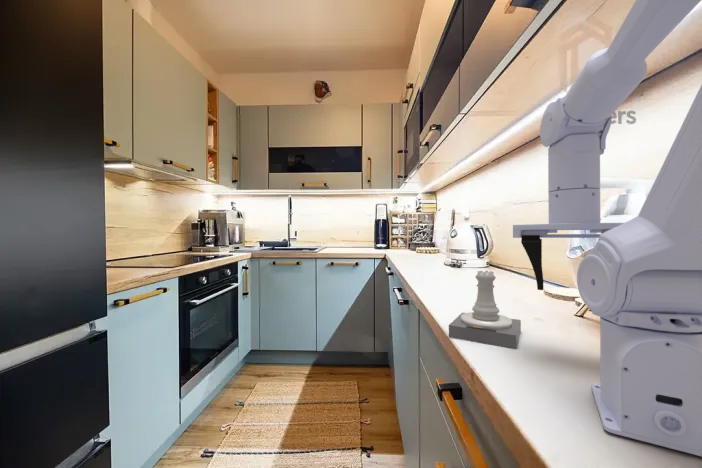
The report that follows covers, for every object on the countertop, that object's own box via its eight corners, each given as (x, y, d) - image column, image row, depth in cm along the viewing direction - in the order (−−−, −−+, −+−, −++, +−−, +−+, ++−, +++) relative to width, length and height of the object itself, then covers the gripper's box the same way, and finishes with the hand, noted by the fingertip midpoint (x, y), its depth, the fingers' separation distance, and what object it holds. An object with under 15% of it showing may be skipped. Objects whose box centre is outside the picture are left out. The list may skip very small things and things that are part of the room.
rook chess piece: (491, 314, 56) (491, 270, 56) (505, 321, 51) (505, 273, 51) (467, 314, 55) (467, 270, 55) (478, 321, 51) (478, 273, 51)
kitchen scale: (516, 348, 47) (516, 330, 47) (448, 337, 52) (448, 320, 52) (520, 331, 55) (520, 315, 55) (462, 322, 60) (462, 308, 60)
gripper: (637, 190, 42) (637, 292, 42) (515, 197, 49) (515, 283, 49) (652, 183, 36) (653, 301, 36) (511, 192, 43) (511, 289, 43)
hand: (573, 291), depth 42 cm, fingers open, 7 cm apart
